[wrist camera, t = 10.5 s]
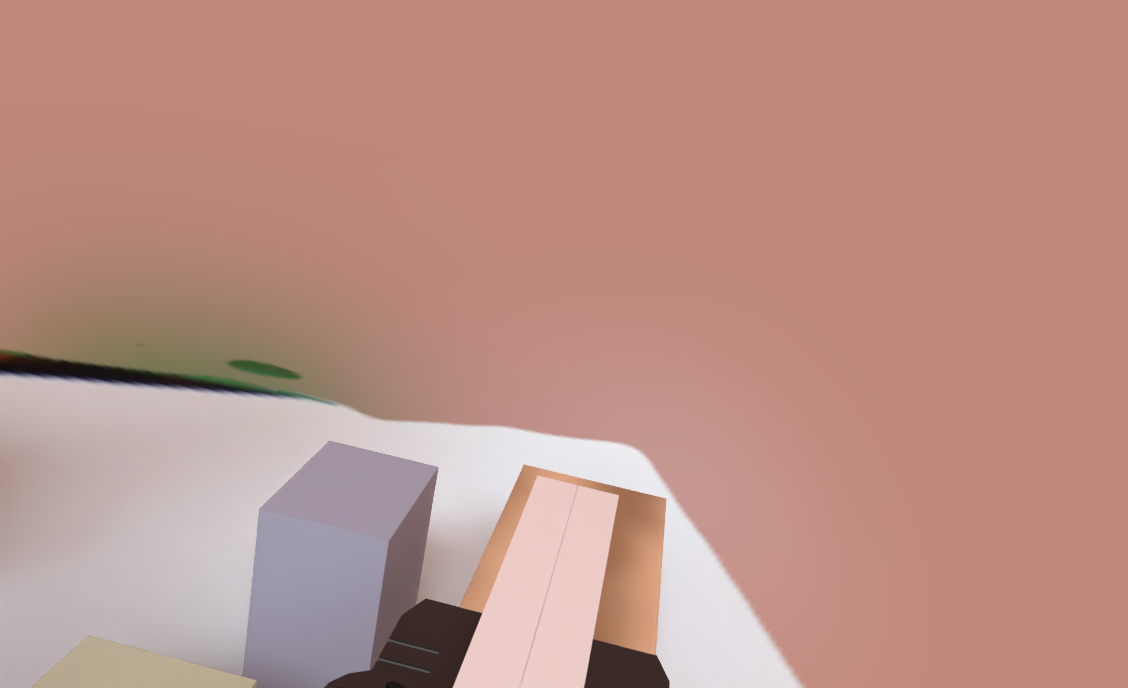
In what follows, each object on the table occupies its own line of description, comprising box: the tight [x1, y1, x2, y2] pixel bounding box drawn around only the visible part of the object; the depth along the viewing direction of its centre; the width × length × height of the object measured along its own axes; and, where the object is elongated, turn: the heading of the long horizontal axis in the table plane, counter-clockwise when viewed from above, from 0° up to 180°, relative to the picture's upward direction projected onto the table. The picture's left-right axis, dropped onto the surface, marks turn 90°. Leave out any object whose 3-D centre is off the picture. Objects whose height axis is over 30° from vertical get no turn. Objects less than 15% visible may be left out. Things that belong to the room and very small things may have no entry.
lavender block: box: [243, 441, 438, 688], centre depth 45 cm, size 6×8×12 cm
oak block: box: [460, 465, 666, 655], centre depth 44 cm, size 8×14×12 cm, turn 171°
